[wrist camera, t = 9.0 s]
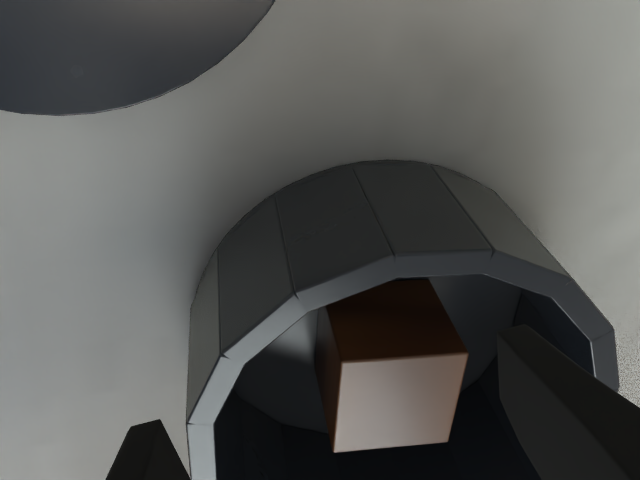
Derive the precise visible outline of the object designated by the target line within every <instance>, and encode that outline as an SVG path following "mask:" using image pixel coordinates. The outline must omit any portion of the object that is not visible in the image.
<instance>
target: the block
mask: <svg viewBox="0 0 640 480" xmlns="http://www.w3.org/2000/svg"><path fill="white" fill-rule="evenodd" d="M468 355H469V353H468V351H467V349H466V347H465V345H464V343H463V341H462V339H461V338H460V336H459V334H458V332H457V330H456V328H455V326H454V325H453V323H452V321H451V319H450V317H449V315H448V314H447V312H446V310H445V308H444V306H443V304H442V302H441V301H440V299H439V297H438V295H437V293H436V291H435V290H434V288H433V286H432V284H431V282H430V280H406V281H389V282H386V283H384V284H381V285H378V286H376V287H373V288H370V289H368V290H365V291H363V292H360V293H357V294H355V295H352V296H349V297H347V298H344V299H342V300H339V301H336V302H334V303H331V304H328V305H326V306H323V307H321V308H319V312H318V328H317V343H316V358H315V372H316V377H317V382H318V387H319V391H320V396H321V401H322V405H323V410H324V415H325V419H326V424H327V429H328V433H329V438H330V443H331V447H332V451H333V452H334V453H337V452H347V451H358V450H369V449H380V448H391V447H401V446H412V445H423V444H434V443H444V442H448V440H449V436H450V431H451V427H452V423H453V419H454V414H455V410H456V406H457V402H458V398H459V393H460V389H461V385H462V381H463V376H464V372H465V368H466V364H467V360H468Z"/></svg>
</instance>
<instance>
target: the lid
mask: <svg viewBox="0 0 640 480" xmlns="http://www.w3.org/2000/svg"><path fill="white" fill-rule="evenodd" d="M274 2H275V0H0V110H4V111H10V112H15V113H21V114H36V115H54V116H64V115H80V114H95V113H100V112H105V111H111V110H116V109H121V108H127V107H130V106H133V105H136V104H139V103H142V102H145V101H148V100H151V99H154V98H158V97H160V96H162V95H164V94H166V93H169V92H171V91H173V90H175V89H177V88H179V87H181V86H183V85H185V84H187V83H189V82H191V81H192V80H194V79H195V78H197V77H198V76H200V75H201V74H203V73H204V72H206V71H207V70H209V69H210V68H212V67H213V66H215V65H216V64H218V63H219V62H220V61H221V60H222V59H224V58H225V57H226V56H227V55H228V54H229V53H230V52H231V51H233V50H234V49H235V48H236V47H237V46H238V45H239V44H240V43H242V42H243V41H244V40H245V38H246V37H247V36H248V35H249V34H250V33H251V32H252V30H253V29H254V28H255V27H256V26H257V25H258V23H259V22H260V21H261V20H262V19H263V18H264V16H265V15H266V14H267V13H268V11H269V10H270V8H271V6H272V5H273V3H274Z"/></svg>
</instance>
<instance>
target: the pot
mask: <svg viewBox="0 0 640 480" xmlns="http://www.w3.org/2000/svg"><path fill="white" fill-rule="evenodd" d="M406 280H430V282H431V284H432V286H433V288H434V290H435V291H436V293H437V295H438V297H439V299H440V301H441V302H442V304H443V306H444V308H445V310H446V312H447V314H448V315H449V317H450V319H451V321H452V323H453V325H454V326H455V328H456V330H457V332H458V334H459V336H460V338H461V339H462V341H463V343H464V345H465V347H466V349H467V351H468V353H469V355H468V360H467V364H466V368H465V372H464V376H463V381H462V385H461V389H460V393H459V398H458V402H457V406H456V410H455V414H454V419H453V423H452V427H451V431H450V436H449V440H448V442H444V443H434V444H423V445H412V446H401V447H391V448H380V449H369V450H358V451H347V452H337V453H334V452H333V451H332V447H331V443H330V438H329V433H328V429H327V424H326V419H325V415H324V410H323V405H322V401H321V396H320V391H319V387H318V382H317V377H316V372H315V358H316V343H317V328H318V312H319V308H321V307H323V306H326V305H328V304H331V303H334V302H336V301H339V300H342V299H344V298H347V297H349V296H352V295H355V294H357V293H360V292H363V291H365V290H368V289H370V288H373V287H376V286H378V285H381V284H384V283H386V282H389V281H406ZM523 324H525V325H527V326H529V327H530V328H531V329H533V330H534V331H535V332H536V333H538V334H539V335H540V336H541V337H543V338H544V339H545V340H547V341H548V342H549V343H550V344H552V345H553V346H554V347H555V348H557V349H558V350H559V351H561V352H562V353H563V354H565V355H566V356H567V357H568V358H570V359H571V360H572V361H574V362H575V363H576V364H578V365H579V366H580V367H582V368H583V369H584V370H586V371H587V372H589V373H590V374H591V375H593V376H594V377H596V378H597V379H598V380H600V381H601V382H603V383H604V384H605V385H607V386H608V387H610V388H611V389H613V390H614V391H615V392H618V390H619V387H620V385H619V375H618V365H617V354H616V344H615V333H614V329H613V326H612V325H611V324H610V322H609V321H608V320H607V319H606V318H605V316H604V315H603V314H602V313H601V312H600V310H599V309H598V308H597V307H596V306H595V304H594V303H593V302H592V301H591V300H590V298H589V297H588V296H587V295H586V294H585V292H584V291H583V290H582V289H581V288H580V286H579V285H578V284H577V283H576V282H575V280H574V279H573V278H572V277H571V276H570V275H569V274H568V273H567V271H566V270H565V269H564V268H563V267H562V266H561V265H560V264H559V263H558V261H557V260H556V259H555V258H554V257H553V256H552V255H551V254H550V252H549V251H548V250H547V249H546V248H545V247H544V246H543V245H542V244H541V242H540V241H539V240H538V239H537V238H536V237H535V236H534V235H533V233H532V232H531V231H530V230H529V229H528V228H527V227H526V226H525V225H524V223H523V222H522V221H521V220H520V219H519V218H518V217H517V216H516V215H515V213H514V212H513V211H512V210H511V209H510V208H509V207H508V206H507V204H506V203H505V202H504V201H503V200H502V199H501V198H500V197H499V196H498V194H497V193H496V192H495V191H493V190H491V189H489V188H487V187H484V186H482V185H481V184H480V183H478V182H476V181H474V180H472V179H470V178H468V177H466V176H464V175H462V174H460V173H458V172H455V171H452V170H449V169H446V168H443V167H440V166H437V165H432V164H427V163H421V162H416V161H403V160H378V161H364V162H358V163H353V164H348V165H343V166H338V167H334V168H331V169H328V170H325V171H322V172H319V173H315V174H312V175H310V176H308V177H305V178H303V179H301V180H299V181H297V182H295V183H292V184H290V185H288V186H286V187H284V188H283V189H281V190H280V191H278V192H276V193H275V194H273V195H272V196H270V197H268V198H267V199H265V200H264V201H262V202H261V203H260V204H259V205H257V206H256V207H255V208H254V209H252V210H251V211H250V212H249V213H247V214H246V215H245V216H244V217H243V218H242V219H241V220H240V221H239V222H238V223H237V224H236V225H235V226H234V227H233V228H232V229H231V230H230V231H229V232H228V234H227V235H226V236H225V238H224V239H223V240H222V242H221V243H220V245H219V246H218V247H217V249H216V250H215V251H214V253H213V255H212V257H211V259H210V260H209V262H208V264H207V266H206V268H205V270H204V272H203V275H202V277H201V280H200V283H199V286H198V289H197V292H196V296H195V298H194V301H193V303H192V305H191V312H190V336H189V360H188V384H187V408H186V431H187V443H188V455H189V466H190V478H191V480H542V479H541V478H540V476H539V474H538V473H537V471H536V469H535V468H534V466H533V464H532V462H531V461H530V459H529V457H528V456H527V454H526V452H525V451H524V449H523V447H522V446H521V444H520V442H519V440H518V438H517V436H516V433H515V431H514V429H513V427H512V425H511V423H510V420H509V418H508V416H507V414H506V411H505V409H504V407H503V405H502V402H501V400H500V394H499V373H498V351H497V331H500V330H504V329H507V328H511V327H515V326H519V325H523Z"/></svg>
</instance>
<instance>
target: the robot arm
mask: <svg viewBox="0 0 640 480" xmlns="http://www.w3.org/2000/svg"><path fill="white" fill-rule="evenodd" d="M497 351H498V373H499V394H500V400H501V402H502V405H503V407H504V409H505V411H506V414H507V416H508V418H509V420H510V423H511V425H512V427H513V429H514V431H515V433H516V436H517V438H518V440H519V442H520V444H521V446H522V447H523V449H524V451H525V452H526V454H527V456H528V457H529V459H530V461H531V462H532V464H533V466H534V468H535V469H536V471H537V473H538V474H539V476H540V478H541V479H542V480H640V408H639V407H638V406H636V405H635V404H633V403H632V402H630V401H629V400H627V399H626V398H624V397H623V396H621V395H620V394H618V393H617V392H615V391H614V390H613V389H611V388H610V387H608V386H607V385H605V384H604V383H603V382H601V381H600V380H598V379H597V378H596V377H594V376H593V375H591V374H590V373H589V372H587V371H586V370H584V369H583V368H582V367H580V366H579V365H578V364H576V363H575V362H574V361H572V360H571V359H570V358H568V357H567V356H566V355H565V354H563V353H562V352H561V351H559V350H558V349H557V348H555V347H554V346H553V345H552V344H550V343H549V342H548V341H547V340H545V339H544V338H543V337H541V336H540V335H539V334H538V333H536V332H535V331H534V330H533V329H531V328H530V327H529V326H527V325H525V324H523V325H519V326H515V327H511V328H507V329H504V330H500V331H497ZM106 480H191V479H190V477H189V475H188V473H187V471H186V470H185V468H184V466H183V464H182V462H181V460H180V458H179V456H178V454H177V452H176V450H175V448H174V446H173V444H172V442H171V440H170V438H169V436H168V434H167V432H166V430H165V428H164V426H163V424H162V422H161V420H160V419H158V420H154V421H151V422H147V423H143V424H139V425H135V426H131V428H130V429H129V431H128V432H127V435H126V437H125V439H124V441H123V443H122V445H121V448H120V450H119V452H118V454H117V456H116V458H115V461H114V463H113V465H112V467H111V469H110V471H109V473H108V476H107V478H106Z"/></svg>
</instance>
